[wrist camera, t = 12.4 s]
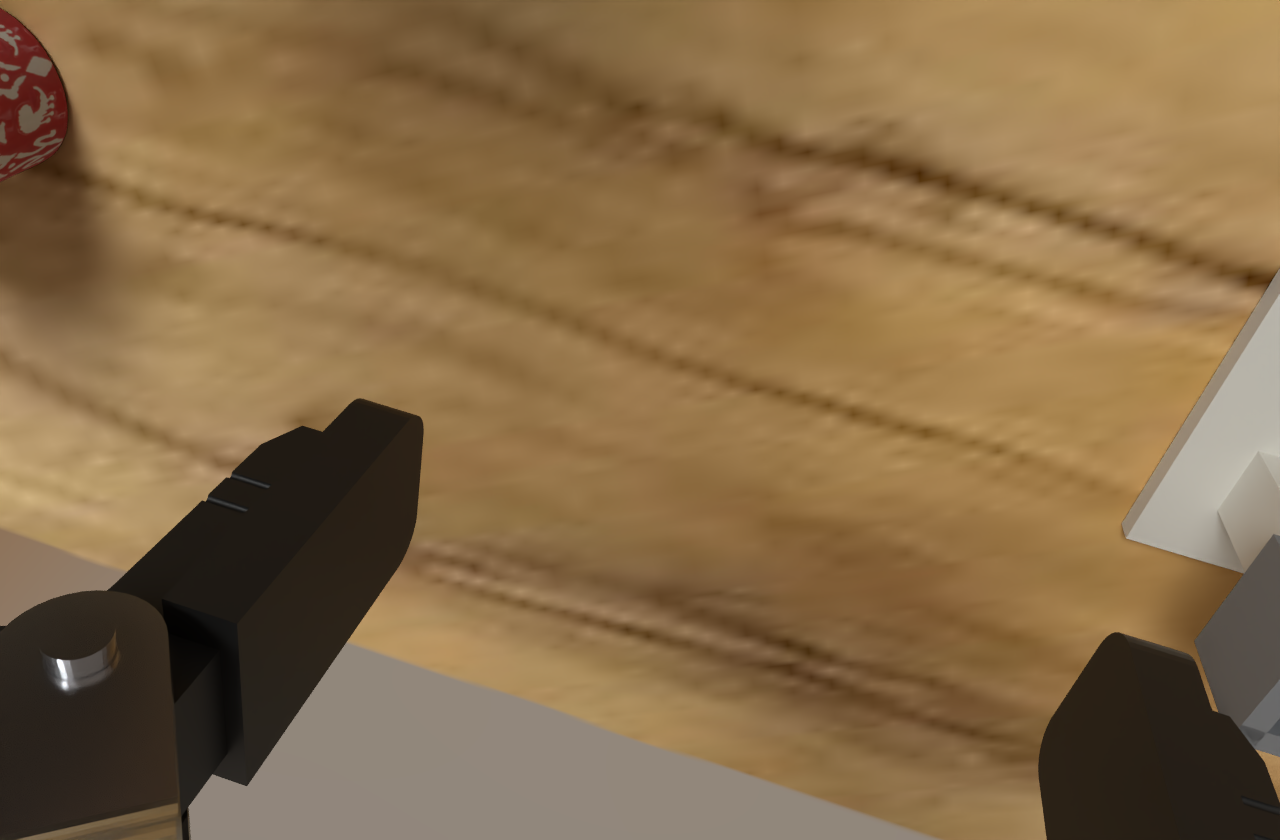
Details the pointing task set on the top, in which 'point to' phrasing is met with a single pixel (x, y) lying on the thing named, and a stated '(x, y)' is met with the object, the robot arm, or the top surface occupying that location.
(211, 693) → the robot arm
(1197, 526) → the stand
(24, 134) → the mug
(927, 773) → the top surface
